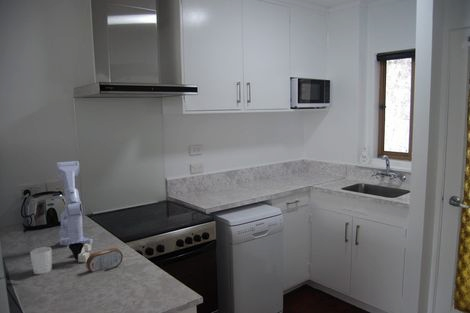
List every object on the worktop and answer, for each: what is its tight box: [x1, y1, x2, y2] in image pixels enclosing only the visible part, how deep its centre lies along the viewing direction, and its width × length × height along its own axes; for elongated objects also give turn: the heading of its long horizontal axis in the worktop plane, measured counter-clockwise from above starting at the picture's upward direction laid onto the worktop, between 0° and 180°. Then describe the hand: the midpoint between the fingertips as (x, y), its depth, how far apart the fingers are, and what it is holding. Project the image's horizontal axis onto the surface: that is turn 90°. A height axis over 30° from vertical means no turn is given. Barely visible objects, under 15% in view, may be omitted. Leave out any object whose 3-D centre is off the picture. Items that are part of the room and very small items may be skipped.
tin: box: [85, 247, 124, 273], centre depth 152 cm, size 15×3×8 cm, turn 131°
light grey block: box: [83, 244, 93, 252], centre depth 172 cm, size 4×3×4 cm
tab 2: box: [77, 251, 90, 263], centre depth 159 cm, size 4×3×4 cm
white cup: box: [29, 246, 53, 275], centre depth 150 cm, size 8×8×10 cm
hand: (77, 258), depth 160 cm, fingers closed
